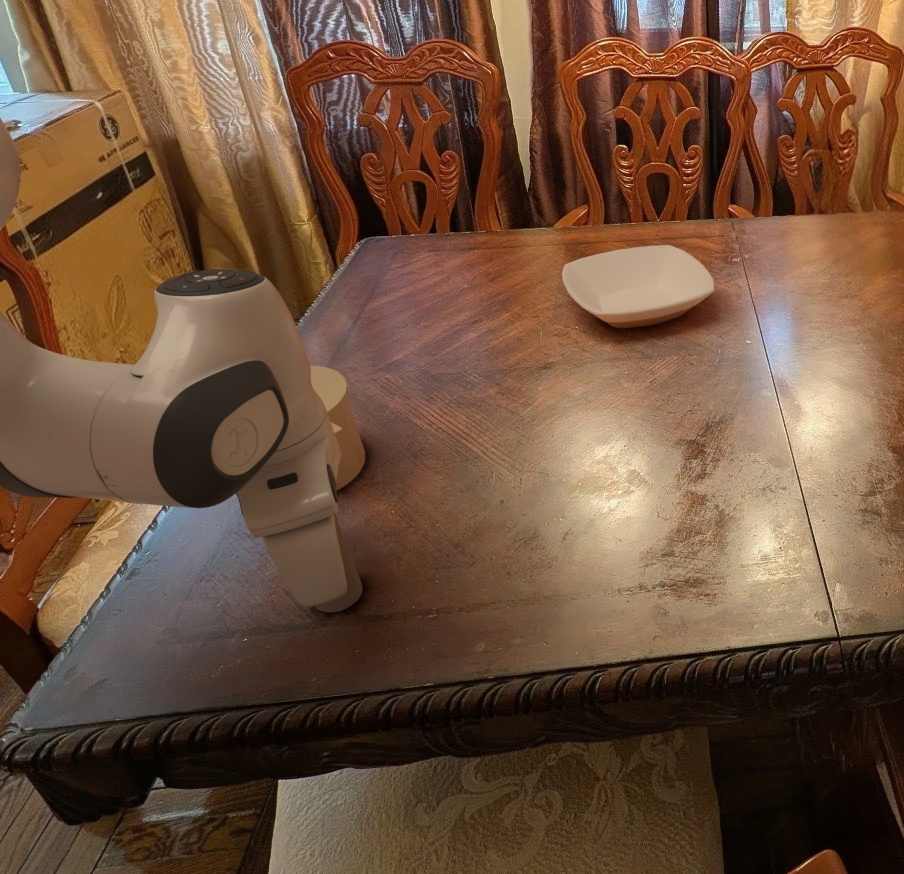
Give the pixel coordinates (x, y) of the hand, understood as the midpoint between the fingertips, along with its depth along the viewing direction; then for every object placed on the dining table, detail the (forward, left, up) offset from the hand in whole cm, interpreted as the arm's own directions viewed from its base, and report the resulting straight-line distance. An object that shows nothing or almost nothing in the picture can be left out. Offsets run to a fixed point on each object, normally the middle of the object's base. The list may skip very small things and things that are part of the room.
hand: (328, 568), depth 75 cm
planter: (0, 0, -4) cm, 4 cm away
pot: (+10, +20, -4) cm, 23 cm away
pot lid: (+10, +20, +6) cm, 23 cm away
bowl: (+63, +14, -4) cm, 64 cm away
